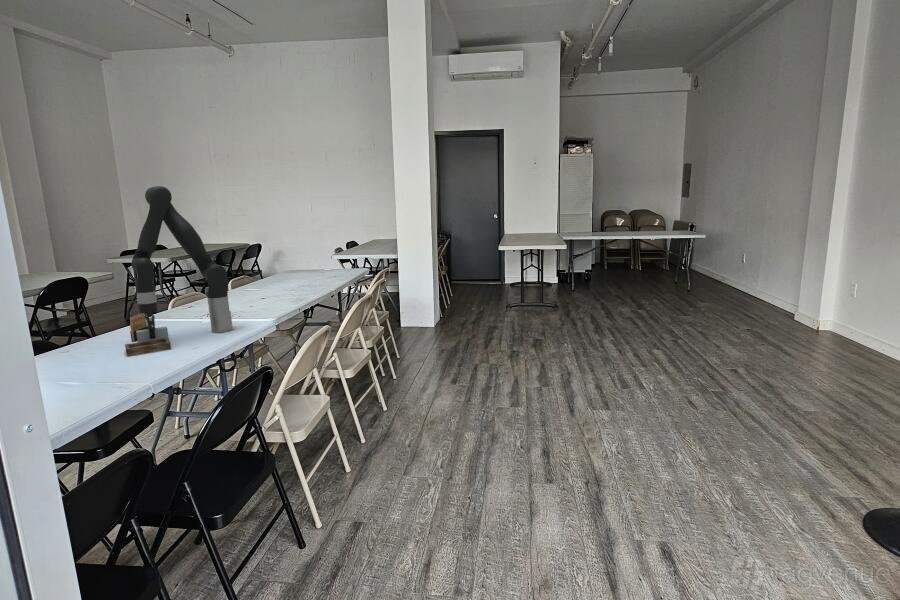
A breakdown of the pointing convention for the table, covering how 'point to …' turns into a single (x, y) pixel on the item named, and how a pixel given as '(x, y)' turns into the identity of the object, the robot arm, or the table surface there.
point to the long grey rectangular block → (159, 334)
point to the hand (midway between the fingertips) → (151, 336)
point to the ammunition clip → (137, 326)
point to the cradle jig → (147, 347)
